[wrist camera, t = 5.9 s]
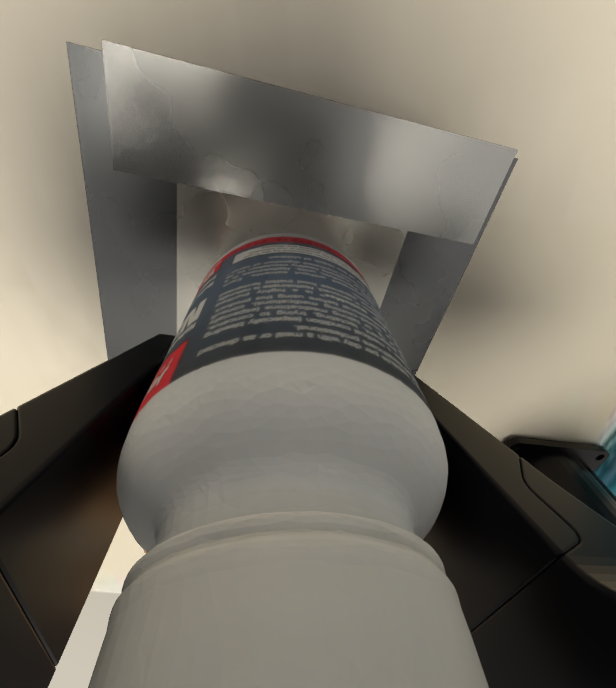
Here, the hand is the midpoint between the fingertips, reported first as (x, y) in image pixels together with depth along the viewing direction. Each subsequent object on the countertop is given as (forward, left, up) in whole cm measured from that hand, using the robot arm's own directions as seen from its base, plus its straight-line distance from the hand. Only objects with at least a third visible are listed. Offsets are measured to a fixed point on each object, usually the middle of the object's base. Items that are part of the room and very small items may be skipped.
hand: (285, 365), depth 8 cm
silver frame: (0, +3, -5) cm, 6 cm away
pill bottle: (0, 0, -3) cm, 3 cm away
